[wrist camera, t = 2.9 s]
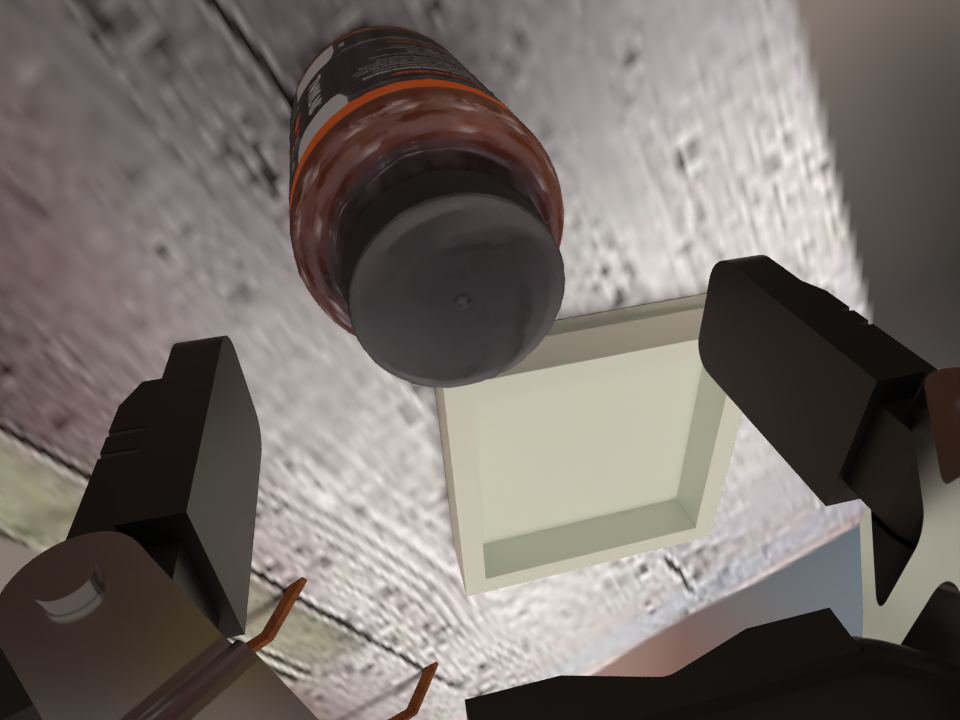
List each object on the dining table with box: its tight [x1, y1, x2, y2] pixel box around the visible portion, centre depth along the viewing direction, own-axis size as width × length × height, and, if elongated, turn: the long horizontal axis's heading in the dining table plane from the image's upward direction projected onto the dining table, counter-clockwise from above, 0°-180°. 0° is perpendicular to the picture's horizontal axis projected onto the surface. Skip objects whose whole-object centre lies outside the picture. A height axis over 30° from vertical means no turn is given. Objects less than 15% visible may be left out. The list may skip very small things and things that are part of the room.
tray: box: [435, 294, 742, 596], centre depth 29 cm, size 13×13×3 cm
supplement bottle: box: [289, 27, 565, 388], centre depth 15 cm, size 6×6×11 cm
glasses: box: [245, 578, 438, 720], centre depth 34 cm, size 13×13×5 cm
